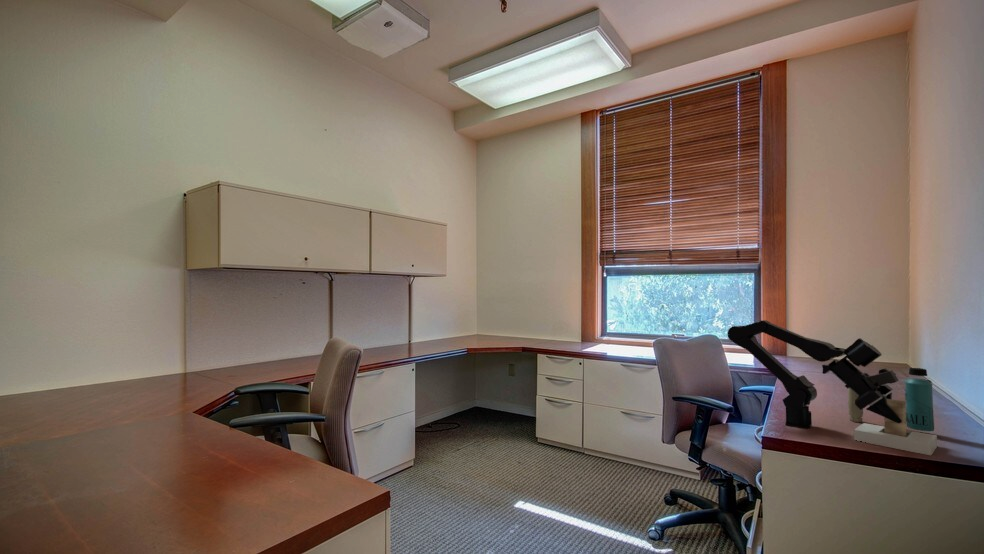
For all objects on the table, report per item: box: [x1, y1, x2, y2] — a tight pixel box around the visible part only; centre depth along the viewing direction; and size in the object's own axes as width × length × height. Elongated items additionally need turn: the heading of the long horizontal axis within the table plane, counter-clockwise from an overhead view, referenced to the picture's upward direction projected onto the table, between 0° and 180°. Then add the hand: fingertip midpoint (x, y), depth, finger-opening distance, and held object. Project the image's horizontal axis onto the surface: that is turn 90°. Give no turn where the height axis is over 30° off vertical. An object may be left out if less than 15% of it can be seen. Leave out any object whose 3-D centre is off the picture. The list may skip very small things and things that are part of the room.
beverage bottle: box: [904, 367, 935, 432], centre depth 137 cm, size 6×7×20 cm
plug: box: [884, 399, 907, 437], centre depth 127 cm, size 4×4×12 cm
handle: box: [847, 388, 864, 423], centre depth 150 cm, size 5×6×15 cm
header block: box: [853, 422, 938, 456], centre depth 127 cm, size 16×12×3 cm
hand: (902, 421), depth 126 cm, fingers closed on plug, 4 cm apart
